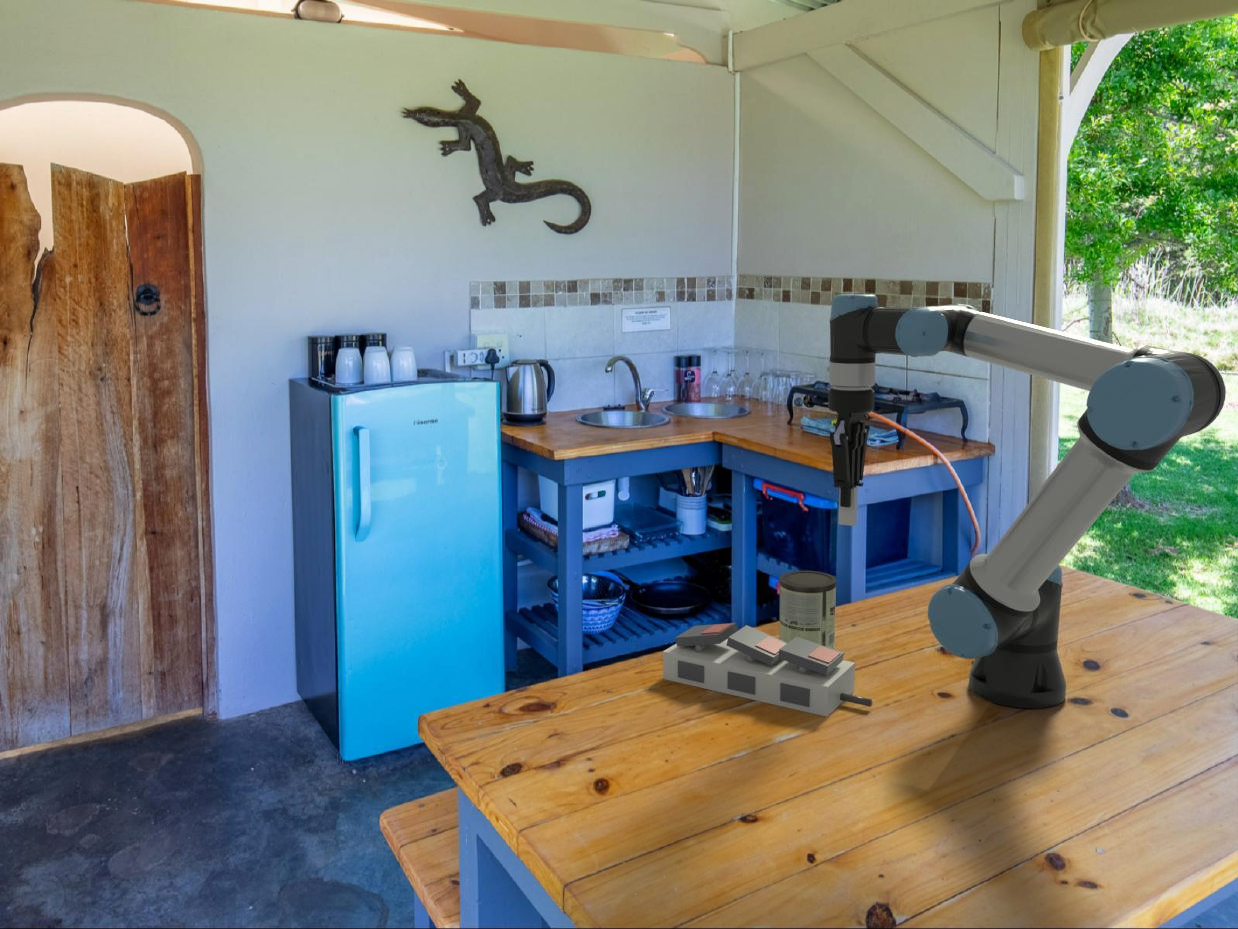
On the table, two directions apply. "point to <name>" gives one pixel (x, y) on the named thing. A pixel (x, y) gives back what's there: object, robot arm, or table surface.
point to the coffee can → (808, 607)
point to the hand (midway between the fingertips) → (847, 524)
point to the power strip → (761, 678)
